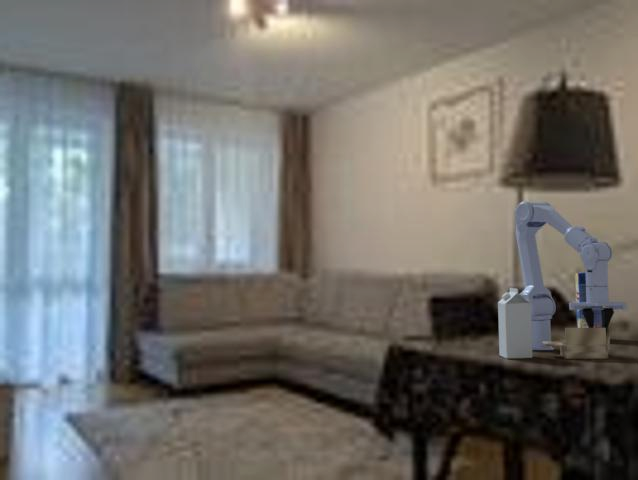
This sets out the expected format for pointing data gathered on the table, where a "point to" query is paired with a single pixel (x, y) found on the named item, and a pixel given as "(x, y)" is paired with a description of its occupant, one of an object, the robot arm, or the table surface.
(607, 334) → the flap
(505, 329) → the milk carton
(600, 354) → the carton
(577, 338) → the flap
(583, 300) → the beverage box
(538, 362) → the table surface
